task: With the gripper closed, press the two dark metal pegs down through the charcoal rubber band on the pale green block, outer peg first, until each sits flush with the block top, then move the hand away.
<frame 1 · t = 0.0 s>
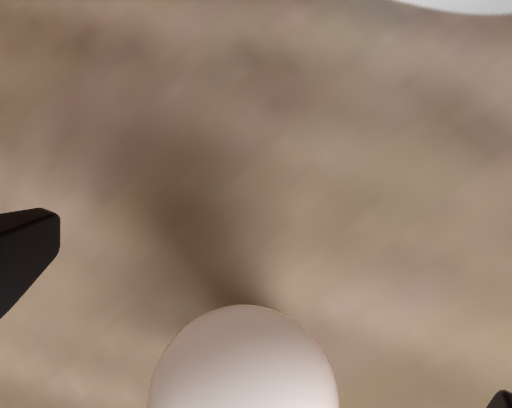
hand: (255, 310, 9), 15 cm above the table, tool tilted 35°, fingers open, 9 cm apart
lightbulb: (271, 354, 24), on the table
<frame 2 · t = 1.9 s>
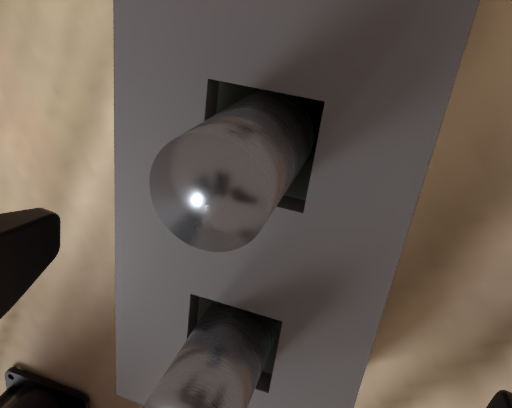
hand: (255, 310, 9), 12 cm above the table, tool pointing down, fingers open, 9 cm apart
press block: (284, 193, 21), on the table
outer peg: (244, 160, 13), point 7 cm above the table, slide at 0.0 cm
inner peg: (218, 367, 17), point 7 cm above the table, slide at 0.0 cm
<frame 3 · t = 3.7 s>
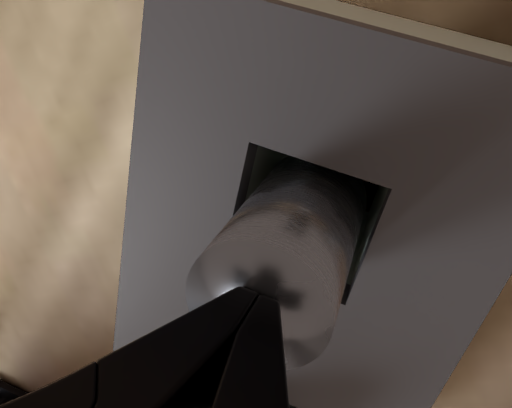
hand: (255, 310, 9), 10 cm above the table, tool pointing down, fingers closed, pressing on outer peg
press block: (308, 243, 19), on the table
outer peg: (291, 241, 11), point 7 cm above the table, slide at 0.5 cm, touching gripper
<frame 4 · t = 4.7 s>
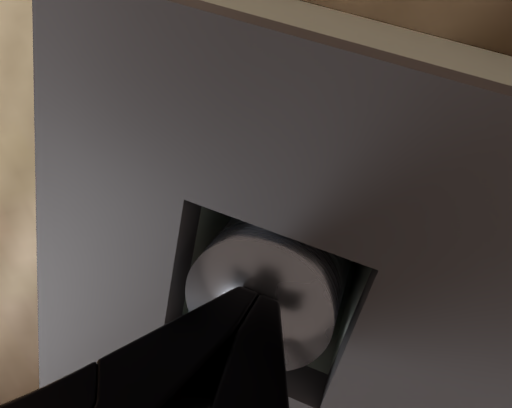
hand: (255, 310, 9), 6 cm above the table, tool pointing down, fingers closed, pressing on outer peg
press block: (286, 292, 16), on the table
outer peg: (291, 242, 11), point 3 cm above the table, slide at 4.0 cm, touching gripper
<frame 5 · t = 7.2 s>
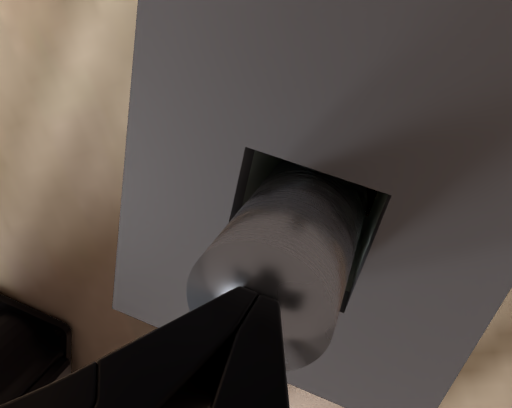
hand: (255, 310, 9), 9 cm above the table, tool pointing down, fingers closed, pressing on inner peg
press block: (372, 46, 15), on the table
inner peg: (292, 242, 11), point 6 cm above the table, slide at 0.8 cm, touching gripper
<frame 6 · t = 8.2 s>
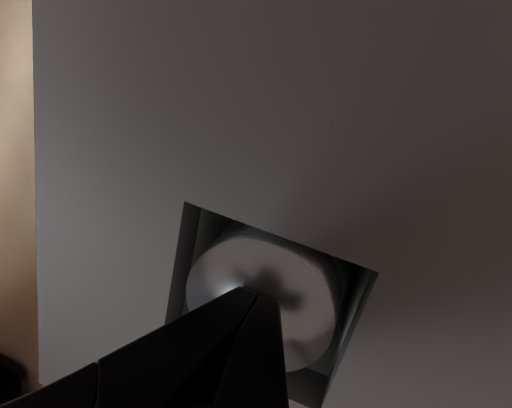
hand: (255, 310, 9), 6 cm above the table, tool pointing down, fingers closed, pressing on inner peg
press block: (360, 60, 12), on the table
inner peg: (292, 243, 11), point 3 cm above the table, slide at 4.1 cm, touching gripper
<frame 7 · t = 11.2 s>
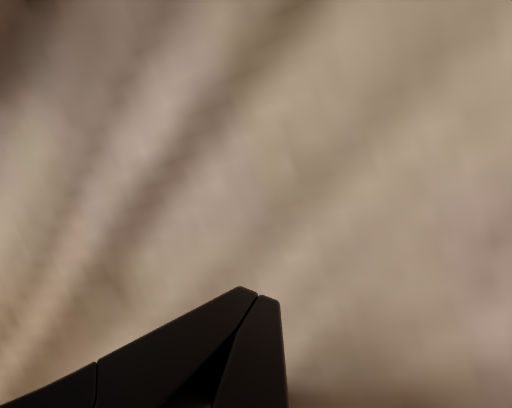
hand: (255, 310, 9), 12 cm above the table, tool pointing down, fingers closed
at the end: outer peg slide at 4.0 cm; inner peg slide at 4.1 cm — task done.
